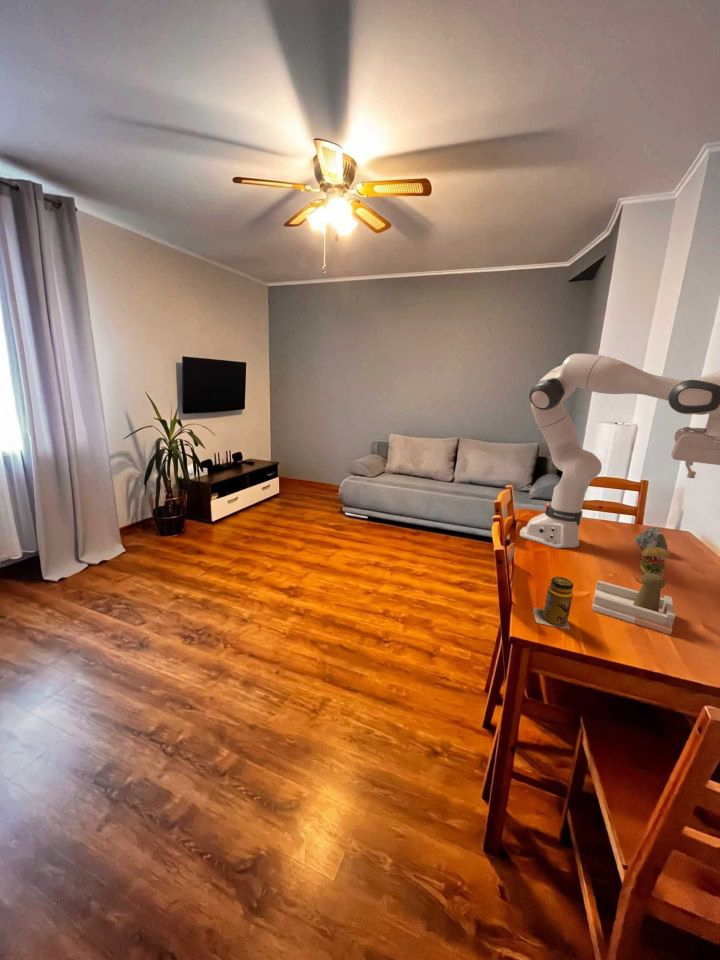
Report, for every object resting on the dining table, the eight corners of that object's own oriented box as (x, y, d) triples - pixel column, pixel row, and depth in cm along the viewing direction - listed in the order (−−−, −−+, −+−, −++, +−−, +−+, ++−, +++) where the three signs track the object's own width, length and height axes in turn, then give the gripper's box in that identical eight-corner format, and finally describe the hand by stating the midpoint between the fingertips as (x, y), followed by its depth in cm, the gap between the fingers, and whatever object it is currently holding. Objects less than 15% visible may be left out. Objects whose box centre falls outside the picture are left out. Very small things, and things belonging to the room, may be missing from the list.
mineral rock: (634, 540, 162) (640, 518, 159) (666, 548, 155) (672, 525, 153) (632, 550, 152) (638, 526, 149) (666, 558, 145) (673, 534, 143)
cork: (663, 617, 105) (673, 582, 102) (639, 615, 106) (648, 579, 103) (650, 605, 111) (660, 571, 108) (628, 602, 111) (636, 568, 109)
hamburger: (647, 580, 128) (656, 547, 125) (631, 569, 135) (639, 538, 132) (669, 580, 129) (678, 547, 126) (652, 569, 136) (660, 538, 133)
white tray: (592, 610, 110) (595, 594, 108) (595, 589, 121) (598, 575, 120) (670, 635, 100) (675, 618, 99) (666, 610, 111) (670, 595, 110)
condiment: (570, 630, 100) (579, 589, 97) (536, 623, 103) (543, 583, 100) (565, 614, 107) (573, 576, 104) (532, 608, 110) (539, 570, 106)
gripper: (678, 427, 104) (665, 476, 107) (785, 435, 93) (767, 490, 96) (676, 425, 109) (664, 472, 112) (777, 433, 98) (760, 485, 101)
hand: (712, 480), depth 104 cm, fingers open, 8 cm apart
